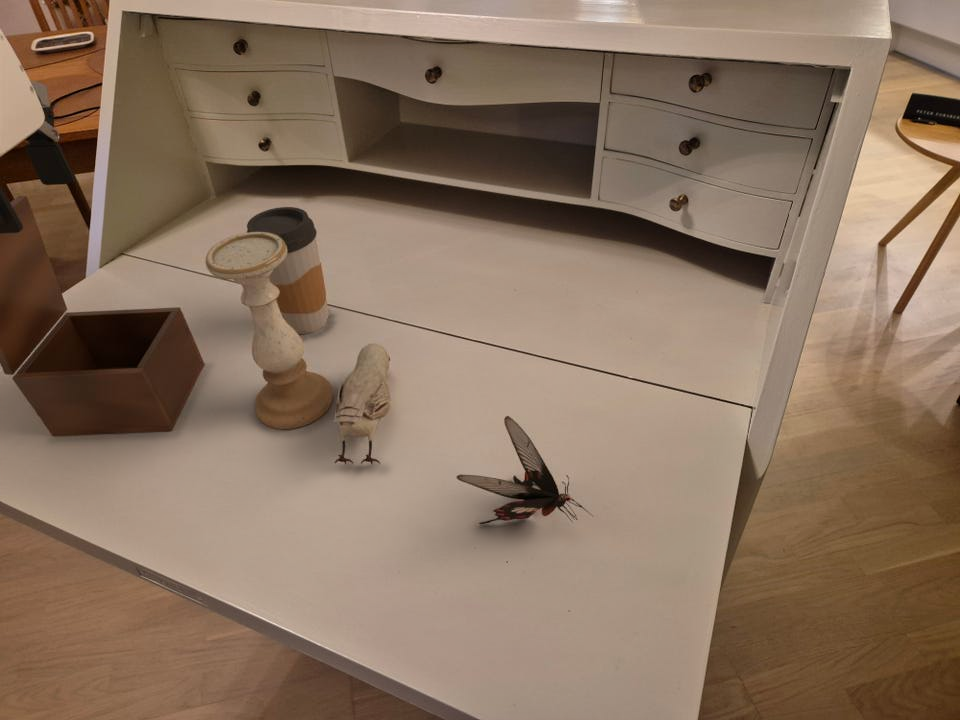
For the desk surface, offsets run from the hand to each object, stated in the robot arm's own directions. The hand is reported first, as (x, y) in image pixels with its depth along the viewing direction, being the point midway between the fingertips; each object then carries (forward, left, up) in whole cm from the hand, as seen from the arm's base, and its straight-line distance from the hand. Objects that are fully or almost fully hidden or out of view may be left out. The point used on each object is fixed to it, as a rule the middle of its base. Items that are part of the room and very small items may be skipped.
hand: (34, 206), depth 60 cm
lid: (-6, 0, -9) cm, 10 cm away
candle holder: (+19, -2, -25) cm, 32 cm away
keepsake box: (-1, 0, -25) cm, 25 cm away
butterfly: (+44, -20, -25) cm, 55 cm away
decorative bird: (+28, -5, -25) cm, 38 cm away
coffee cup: (+17, +14, -25) cm, 33 cm away
